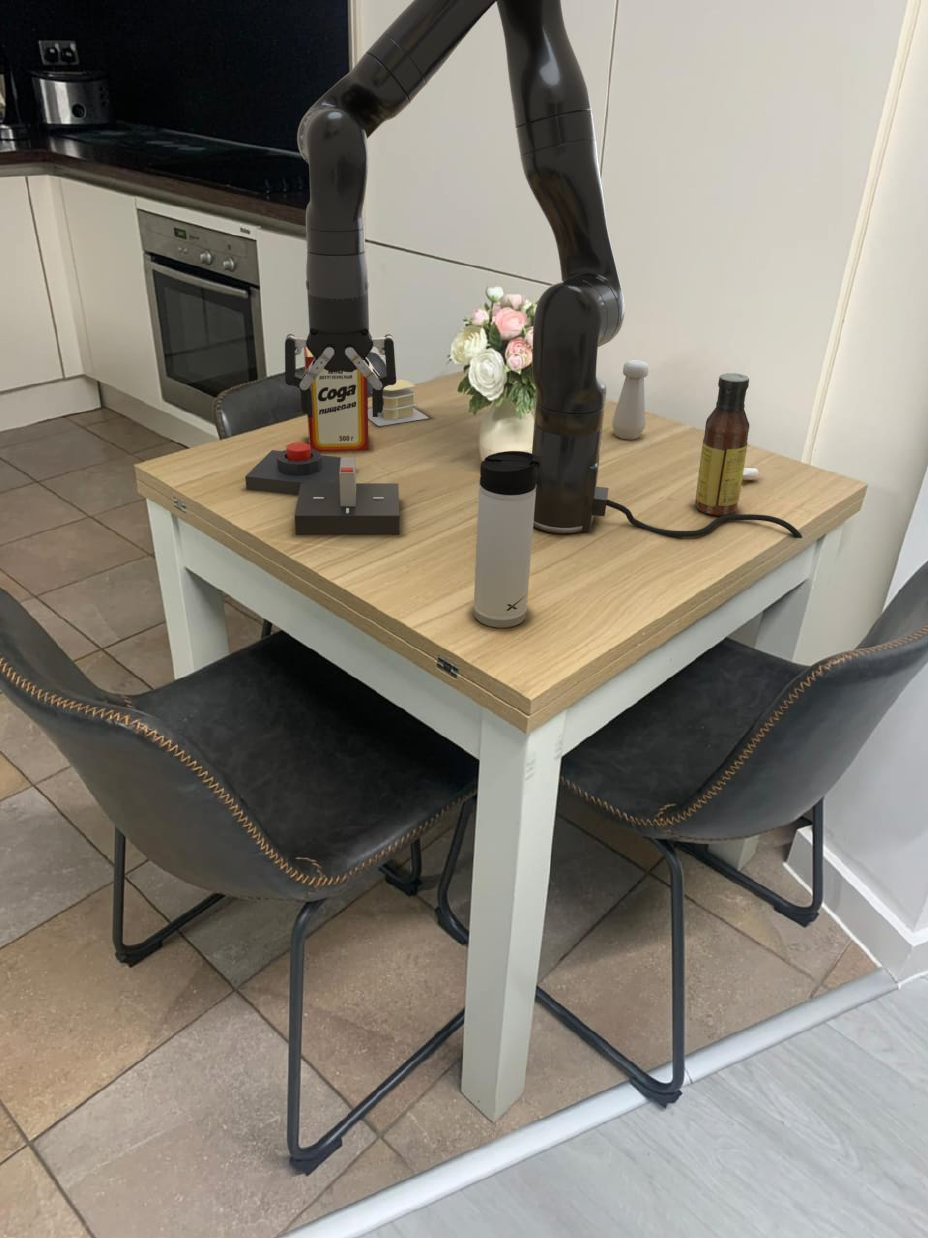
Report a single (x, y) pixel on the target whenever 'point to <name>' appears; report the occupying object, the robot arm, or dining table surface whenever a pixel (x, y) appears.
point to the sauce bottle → (724, 449)
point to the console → (347, 510)
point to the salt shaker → (631, 402)
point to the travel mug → (504, 537)
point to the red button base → (292, 472)
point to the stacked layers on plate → (397, 405)
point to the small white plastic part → (750, 474)
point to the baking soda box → (338, 410)
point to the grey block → (347, 481)
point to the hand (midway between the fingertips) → (342, 415)
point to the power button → (298, 452)
